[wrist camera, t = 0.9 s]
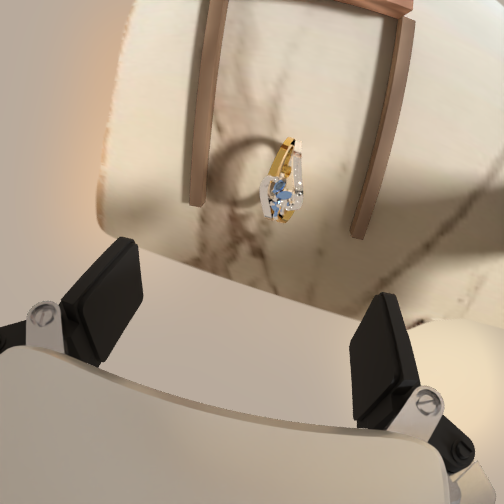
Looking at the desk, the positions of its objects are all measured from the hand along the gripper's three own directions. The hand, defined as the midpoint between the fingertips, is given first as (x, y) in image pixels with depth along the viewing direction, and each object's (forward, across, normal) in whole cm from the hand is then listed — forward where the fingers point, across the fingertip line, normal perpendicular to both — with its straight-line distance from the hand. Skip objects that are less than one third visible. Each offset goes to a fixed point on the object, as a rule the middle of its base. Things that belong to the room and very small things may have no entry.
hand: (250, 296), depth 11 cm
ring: (+19, 0, 0) cm, 19 cm away
